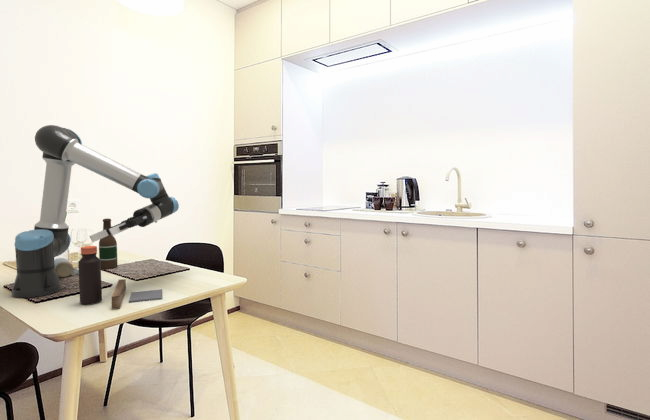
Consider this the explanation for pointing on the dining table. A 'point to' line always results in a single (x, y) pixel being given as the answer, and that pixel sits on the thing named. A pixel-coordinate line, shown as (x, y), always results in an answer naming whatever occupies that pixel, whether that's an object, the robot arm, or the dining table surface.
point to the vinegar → (90, 276)
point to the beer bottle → (108, 249)
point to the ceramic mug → (64, 267)
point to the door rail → (118, 294)
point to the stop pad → (145, 295)
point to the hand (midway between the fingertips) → (100, 235)
